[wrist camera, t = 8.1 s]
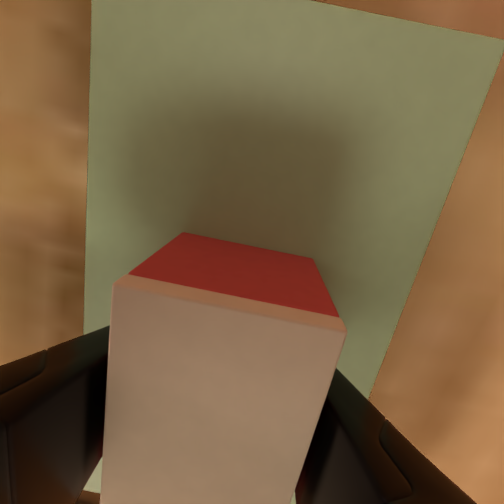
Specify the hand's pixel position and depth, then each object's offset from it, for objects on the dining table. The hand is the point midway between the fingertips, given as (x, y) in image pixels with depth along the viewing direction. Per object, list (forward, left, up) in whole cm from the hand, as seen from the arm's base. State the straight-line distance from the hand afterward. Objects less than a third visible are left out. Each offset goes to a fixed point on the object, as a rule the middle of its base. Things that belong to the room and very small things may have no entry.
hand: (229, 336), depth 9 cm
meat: (0, 0, 0) cm, 1 cm away
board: (0, 0, -2) cm, 2 cm away
